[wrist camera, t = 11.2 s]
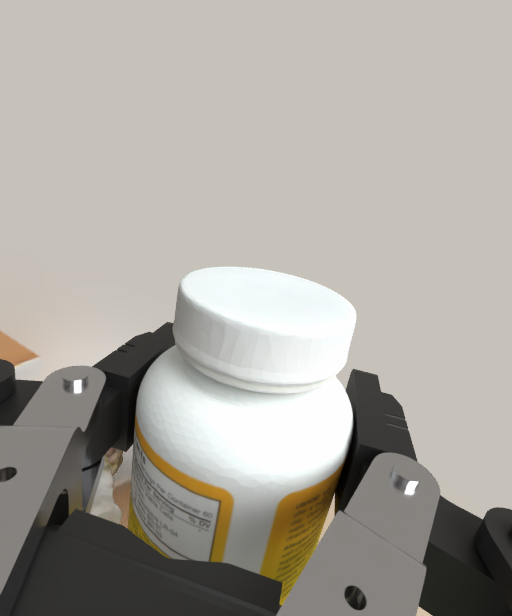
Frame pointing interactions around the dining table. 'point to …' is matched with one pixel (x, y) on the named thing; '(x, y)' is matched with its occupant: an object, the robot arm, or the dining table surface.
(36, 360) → the dining table surface
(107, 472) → the ceramic sculpture
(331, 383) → the supplement bottle
